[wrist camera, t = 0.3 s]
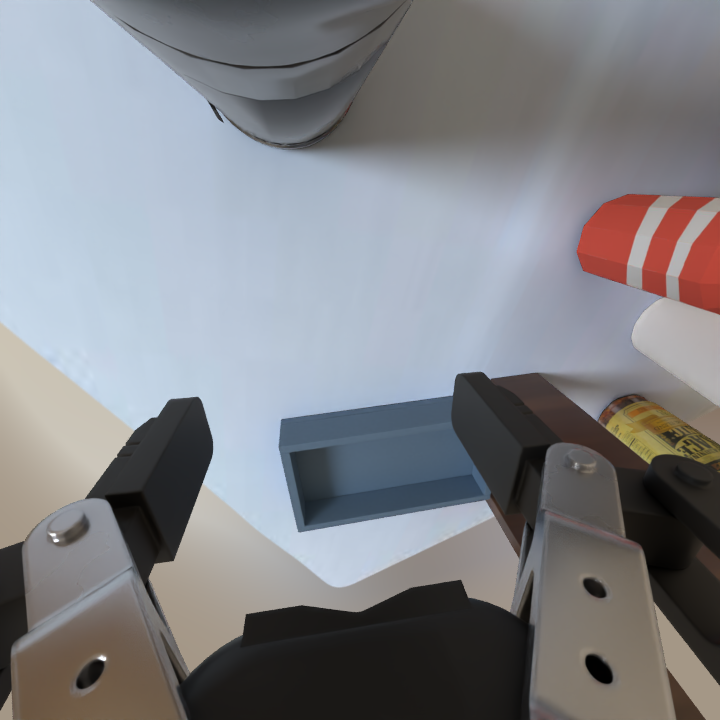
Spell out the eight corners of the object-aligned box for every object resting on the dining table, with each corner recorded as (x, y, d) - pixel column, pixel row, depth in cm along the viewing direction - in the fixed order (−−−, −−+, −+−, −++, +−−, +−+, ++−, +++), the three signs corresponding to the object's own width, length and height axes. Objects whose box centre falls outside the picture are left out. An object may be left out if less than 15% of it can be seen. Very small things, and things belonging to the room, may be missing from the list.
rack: (490, 378, 33) (1205, 1127, 7) (537, 372, 34) (1365, 1045, 7) (474, 481, 40) (799, 1046, 14) (513, 474, 40) (897, 1007, 14)
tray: (281, 419, 32) (278, 447, 28) (486, 391, 34) (506, 413, 30) (298, 501, 37) (298, 532, 34) (474, 472, 39) (490, 499, 36)
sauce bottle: (655, 393, 38) (955, 574, 20) (625, 436, 40) (867, 628, 23) (609, 388, 36) (890, 579, 19) (581, 433, 39) (804, 635, 22)
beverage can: (640, 257, 29) (828, 300, 19) (570, 283, 29) (719, 340, 19) (647, 183, 26) (875, 185, 16) (570, 213, 26) (746, 233, 16)
